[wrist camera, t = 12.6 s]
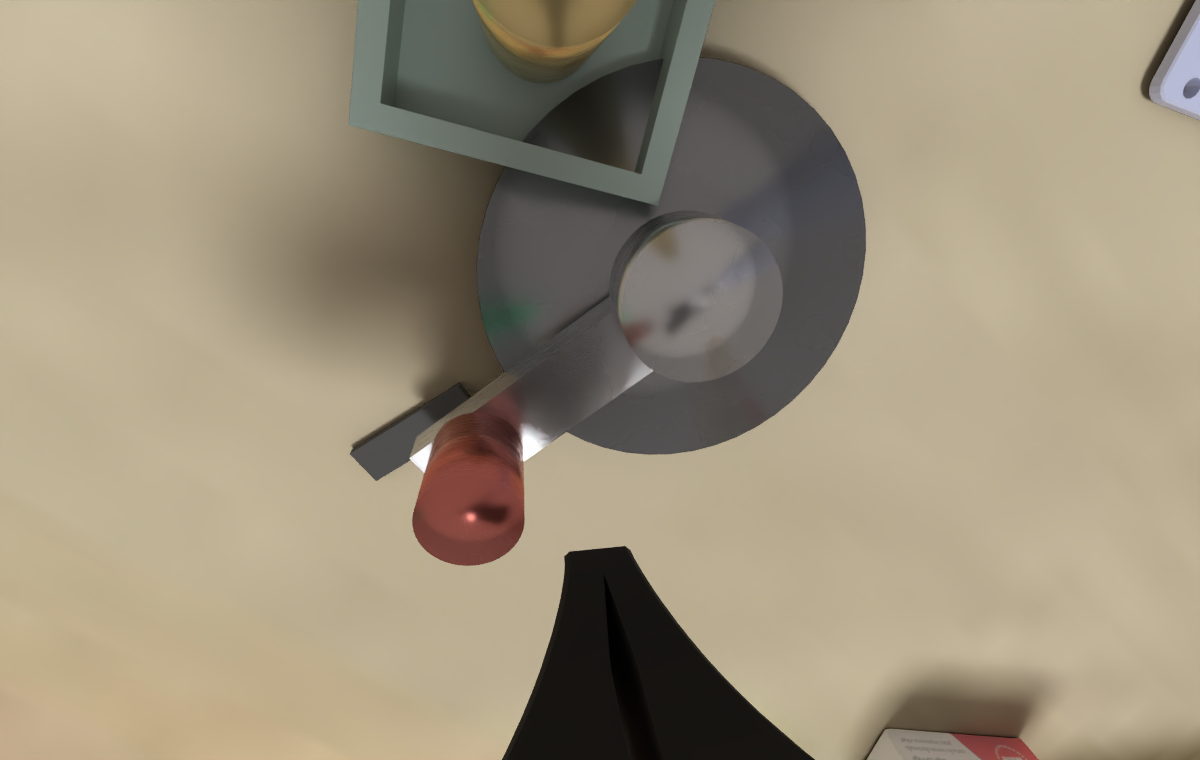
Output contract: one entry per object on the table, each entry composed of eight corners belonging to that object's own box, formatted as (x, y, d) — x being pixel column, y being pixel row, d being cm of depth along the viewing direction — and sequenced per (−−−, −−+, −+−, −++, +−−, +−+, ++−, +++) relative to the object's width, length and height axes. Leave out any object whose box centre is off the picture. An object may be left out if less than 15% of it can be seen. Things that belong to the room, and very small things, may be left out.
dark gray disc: (908, 128, 16) (932, 128, 15) (769, 460, 20) (782, 476, 19) (521, 2, 13) (521, -9, 12) (451, 409, 17) (447, 424, 16)
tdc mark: (459, 382, 17) (458, 386, 17) (482, 412, 17) (482, 416, 17) (352, 449, 17) (350, 453, 17) (378, 475, 18) (376, 480, 17)
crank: (705, 177, 14) (777, 192, 10) (776, 299, 16) (861, 352, 12) (392, 410, 15) (349, 502, 12) (485, 501, 17) (476, 608, 13)
